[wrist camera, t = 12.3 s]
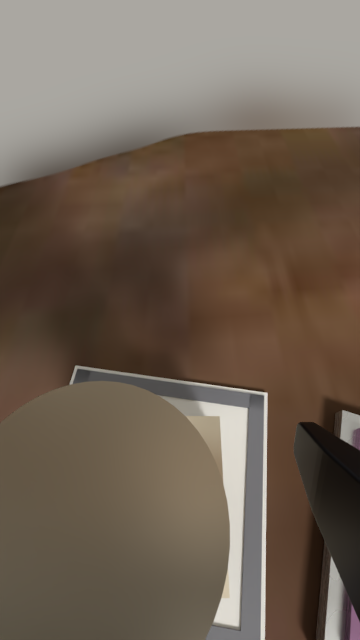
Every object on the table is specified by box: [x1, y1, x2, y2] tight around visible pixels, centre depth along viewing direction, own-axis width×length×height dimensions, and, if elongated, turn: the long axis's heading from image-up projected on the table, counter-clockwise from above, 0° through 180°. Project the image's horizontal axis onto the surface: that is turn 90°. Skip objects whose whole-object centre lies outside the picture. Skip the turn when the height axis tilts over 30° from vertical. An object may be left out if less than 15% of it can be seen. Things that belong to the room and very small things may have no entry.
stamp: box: [0, 381, 230, 640], centre depth 9 cm, size 6×6×12 cm
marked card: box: [70, 366, 267, 640], centre depth 15 cm, size 11×11×1 cm
